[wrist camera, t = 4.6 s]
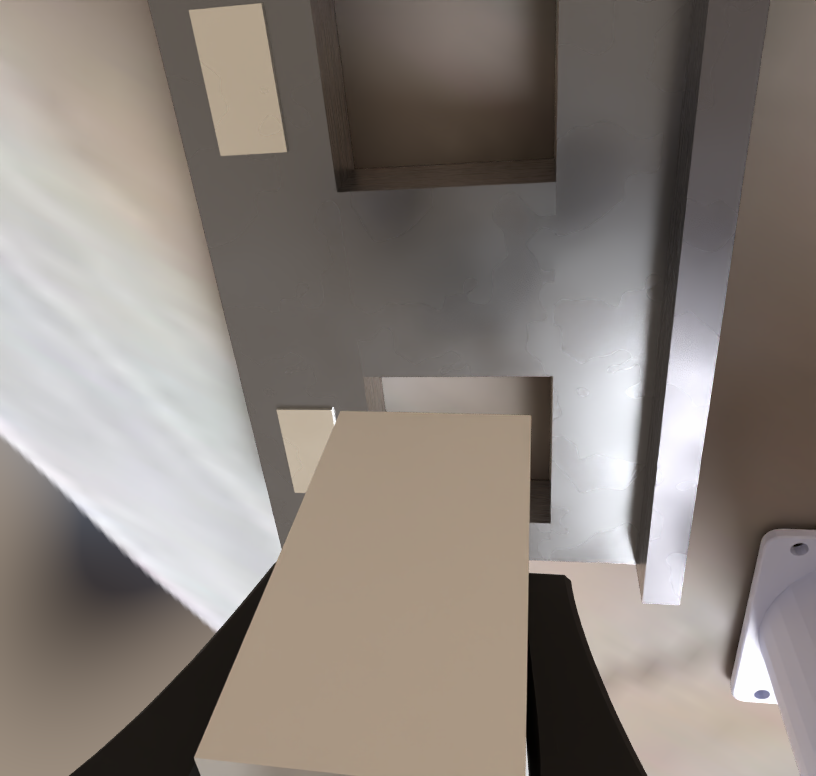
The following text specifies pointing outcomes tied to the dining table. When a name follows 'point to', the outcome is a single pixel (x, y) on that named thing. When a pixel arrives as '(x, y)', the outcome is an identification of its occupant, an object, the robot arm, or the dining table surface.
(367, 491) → the plug
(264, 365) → the port panel
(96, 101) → the dining table surface
